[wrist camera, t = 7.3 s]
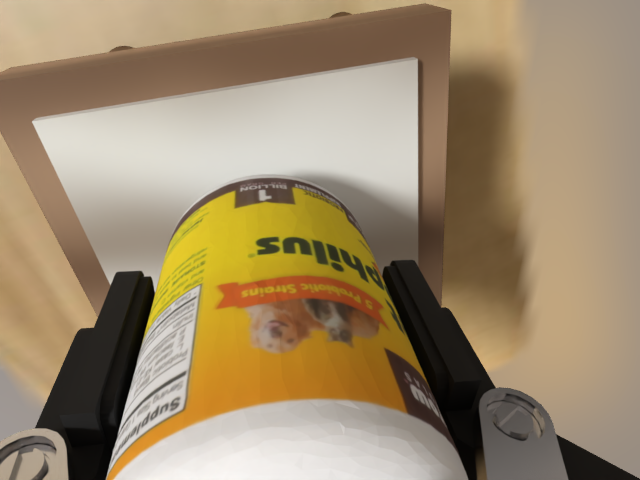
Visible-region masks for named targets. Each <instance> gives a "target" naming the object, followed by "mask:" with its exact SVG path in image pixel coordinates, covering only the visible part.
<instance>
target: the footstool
mask: <svg viewBox="0 0 640 480" xmlns="http://www.w3.org/2000/svg"><path fill="white" fill-rule="evenodd" d="M450 36H451V10H448V9H445V8H441V7H437V6H433V5H429V4H418V5H412V6H406V7H399V8H393V9H386V10H380V11H373V12H367V13H360V14H354V15H352V14H350V13H346V12H340V13H336V14H334V15H332V16H331V17H330V18H328V19H321V20H315V21H309V22H302V23H296V24H289V25H283V26H276V27H270V28H263V29H257V30H250V31H244V32H237V33H231V34H225V35H218V36H212V37H205V38H199V39H192V40H186V41H179V42H173V43H166V44H160V45H153V46H147V47H140V48H132V47H128V46H120V47H116V48H114V49H112V50H111V51H110V52H108V53H102V54H95V55H89V56H82V57H76V58H69V59H63V60H56V61H50V62H43V63H37V64H31V65H24V66H18V67H11V68H9V69H7V70H5V71H3V72H1V73H0V132H1V134H2V136H3V138H4V140H5V142H6V143H7V145H8V147H9V149H10V151H11V153H12V155H13V157H14V159H15V161H16V162H17V164H18V166H19V168H20V170H21V172H22V174H23V176H24V178H25V180H26V181H27V183H28V185H29V187H30V189H31V191H32V193H33V195H34V197H35V199H36V200H37V202H38V204H39V206H40V208H41V210H42V212H43V214H44V216H45V218H46V219H47V221H48V223H49V225H50V227H51V229H52V231H53V233H54V235H55V237H56V238H57V240H58V242H59V244H60V246H61V248H62V250H63V252H64V254H65V256H66V257H67V259H68V261H69V263H70V265H71V267H72V269H73V271H74V273H75V275H76V276H77V278H78V280H79V282H80V284H81V286H82V288H83V290H84V292H85V294H86V295H87V297H88V299H89V301H90V303H91V305H92V307H93V309H94V311H95V313H96V315H97V316H99V314H100V311H101V309H102V306H103V304H104V301H105V298H106V296H107V293H108V291H109V288H110V286H111V283H112V281H113V278H114V276H115V274H116V272H121V271H142V272H143V274H144V277H145V276H151V277H152V280H153V285H154V291H155V292H156V288H157V285H158V281H159V277H160V273H161V270H162V266H163V262H164V258H165V255H166V251H167V248H168V244H169V242H170V239H171V236H172V234H173V231H174V229H175V227H176V225H177V224H178V222H179V220H180V219H181V217H182V216H183V214H184V213H185V212H186V211H187V210H188V209H189V208H190V206H191V205H192V204H193V203H194V202H196V201H197V200H198V199H199V198H200V197H201V196H203V195H204V194H206V193H207V192H209V191H210V190H212V189H214V188H216V187H218V186H220V185H221V184H224V183H226V182H229V181H231V180H234V179H238V178H242V177H246V176H251V175H262V174H276V175H286V176H292V177H297V178H300V179H303V180H306V181H309V182H312V183H314V184H316V185H318V186H320V187H322V188H324V189H326V190H327V191H329V192H330V193H332V194H333V195H335V196H336V197H337V198H338V199H339V200H341V201H342V202H343V203H344V204H345V206H346V207H347V208H348V209H349V210H350V211H351V213H352V214H353V216H354V217H355V219H356V220H357V222H358V224H359V225H360V228H361V230H362V232H363V234H364V236H365V238H366V241H367V243H368V245H369V247H370V250H371V252H372V254H373V257H374V259H375V261H376V264H377V266H378V269H379V271H380V273H381V275H382V274H383V269H384V267H385V266H390V263H391V261H393V260H414V261H415V262H416V264H417V265H418V267H419V269H420V271H421V273H422V274H423V276H424V278H425V280H426V281H427V283H428V285H429V287H430V289H431V290H432V292H433V294H434V296H435V298H436V299H437V301H438V303H439V305H440V306H441V299H442V270H443V241H444V212H445V182H446V153H447V124H448V94H449V65H450Z"/></svg>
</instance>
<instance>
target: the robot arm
mask: <svg viewBox="0 0 640 480" xmlns="http://www.w3.org/2000/svg"><path fill="white" fill-rule="evenodd" d="M382 278H383V280H384V282H385V285H386V287H387V289H388V291H389V294H390V296H391V298H392V300H393V303H394V305H395V307H396V310H397V313H398V315H399V317H400V319H401V322H402V324H403V326H404V329H405V331H406V333H407V336H408V338H409V341H410V343H411V345H412V348H413V350H414V353H415V355H416V357H417V360H418V362H419V364H420V367H421V369H422V371H423V373H424V376H425V378H426V380H427V383H428V385H429V387H430V389H431V392H432V394H433V396H434V398H435V400H436V403H437V406H438V408H439V410H440V413H441V415H442V417H443V419H444V421H445V424H446V426H447V429H448V431H449V433H450V435H451V437H452V439H453V441H454V444H455V446H456V448H457V450H458V452H459V455H460V458H461V461H462V465H463V467H464V469H465V471H466V474H467V477H468V480H640V479H639V478H637V477H635V476H633V475H632V474H630V473H628V472H626V471H624V470H622V469H620V468H618V467H617V466H615V465H613V464H611V463H609V462H607V461H605V460H603V459H601V458H600V457H598V456H596V455H594V454H592V453H590V452H588V451H587V450H585V449H583V448H581V447H579V446H577V445H575V444H573V443H572V442H570V441H568V440H566V439H564V438H562V437H560V436H558V435H557V434H556V433H555V429H554V426H553V423H552V420H551V418H550V416H549V414H548V413H547V411H546V410H545V409H544V408H543V406H542V405H541V404H539V403H538V402H537V401H536V400H534V399H533V398H532V397H530V396H528V395H527V394H525V393H523V392H521V391H518V390H514V389H511V388H495V386H494V384H493V383H492V381H491V379H490V377H489V376H488V374H487V372H486V371H485V369H484V367H483V365H482V364H481V362H480V360H479V358H478V357H477V355H476V353H475V352H474V350H473V348H472V346H471V345H470V343H469V341H468V340H467V338H466V336H465V334H464V333H463V331H462V329H461V328H460V326H459V324H458V322H457V321H456V319H455V317H454V316H453V314H452V312H451V311H450V310H449V309H448V308H446V307H445V308H441V306H440V305H439V303H438V301H437V299H436V298H435V296H434V294H433V292H432V290H431V289H430V287H429V285H428V283H427V281H426V280H425V278H424V276H423V274H422V273H421V271H420V269H419V267H418V265H417V264H416V262H415V261H414V260H393V261H391V263H390V266H385V267H384V269H383V274H382ZM154 296H155V291H154V285H153V280H152V277H151V276H145V277H144V274H143V272H142V271H121V272H116V274H115V276H114V278H113V281H112V283H111V286H110V288H109V291H108V293H107V296H106V298H105V301H104V304H103V306H102V309H101V311H100V314H99V316H98V319H97V321H96V324H95V326H94V328H82V329H80V330H79V331H78V332H77V334H76V336H75V338H74V340H73V342H72V344H71V347H70V349H69V351H68V354H67V356H66V358H65V361H64V363H63V365H62V367H61V370H60V372H59V374H58V377H57V379H56V381H55V384H54V386H53V388H52V390H51V393H50V395H49V397H48V400H47V402H46V404H45V406H44V409H43V411H42V413H41V416H40V418H39V420H38V423H37V425H36V427H35V428H34V429H30V430H25V431H20V432H18V433H16V434H14V435H11V436H9V437H7V438H5V439H4V440H2V441H1V442H0V480H106V476H107V473H108V469H109V465H110V461H111V458H112V453H113V449H114V446H115V443H116V440H117V436H118V432H119V428H120V424H121V420H122V417H123V413H124V409H125V405H126V401H127V398H128V394H129V390H130V387H131V383H132V379H133V375H134V371H135V368H136V364H137V360H138V356H139V352H140V349H141V345H142V341H143V337H144V333H145V330H146V326H147V322H148V318H149V314H150V311H151V307H152V304H153V300H154Z"/></svg>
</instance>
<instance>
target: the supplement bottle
mask: <svg viewBox="0 0 640 480" xmlns="http://www.w3.org/2000/svg"><path fill="white" fill-rule="evenodd" d="M106 480H468V477H467V474H466V471H465V469H464V467H463V465H462V461H461V458H460V455H459V452H458V450H457V448H456V446H455V444H454V441H453V439H452V437H451V435H450V433H449V431H448V429H447V426H446V424H445V421H444V419H443V417H442V415H441V413H440V410H439V408H438V406H437V403H436V400H435V398H434V396H433V394H432V392H431V389H430V387H429V385H428V383H427V380H426V378H425V376H424V373H423V371H422V369H421V367H420V364H419V362H418V360H417V357H416V355H415V353H414V350H413V348H412V345H411V343H410V341H409V338H408V336H407V333H406V331H405V329H404V326H403V324H402V322H401V319H400V317H399V315H398V313H397V310H396V307H395V305H394V303H393V300H392V298H391V296H390V294H389V291H388V289H387V287H386V285H385V282H384V280H383V278H382V275H381V273H380V271H379V269H378V266H377V264H376V261H375V259H374V257H373V254H372V252H371V250H370V247H369V245H368V243H367V241H366V238H365V236H364V234H363V232H362V230H361V228H360V225H359V224H358V222H357V220H356V219H355V217H354V216H353V214H352V213H351V211H350V210H349V209H348V208H347V207H346V206H345V204H344V203H343V202H342V201H341V200H339V199H338V198H337V197H336V196H335V195H333V194H332V193H330V192H329V191H327V190H326V189H324V188H322V187H320V186H318V185H316V184H314V183H312V182H309V181H306V180H303V179H300V178H297V177H292V176H286V175H276V174H262V175H251V176H246V177H242V178H238V179H234V180H231V181H229V182H226V183H224V184H221V185H220V186H218V187H216V188H214V189H212V190H210V191H209V192H207V193H206V194H204V195H203V196H201V197H200V198H199V199H198V200H197V201H196V202H194V203H193V204H192V205H191V206H190V208H189V209H188V210H187V211H186V212H185V213H184V214H183V216H182V217H181V219H180V220H179V222H178V224H177V225H176V227H175V229H174V231H173V234H172V236H171V239H170V242H169V244H168V248H167V251H166V255H165V258H164V262H163V266H162V270H161V273H160V277H159V281H158V285H157V288H156V292H155V296H154V300H153V304H152V307H151V311H150V314H149V318H148V322H147V326H146V330H145V333H144V337H143V341H142V345H141V349H140V352H139V356H138V360H137V364H136V368H135V371H134V375H133V379H132V383H131V387H130V390H129V394H128V398H127V401H126V405H125V409H124V413H123V417H122V420H121V424H120V428H119V432H118V436H117V440H116V443H115V446H114V449H113V453H112V458H111V461H110V465H109V469H108V473H107V476H106Z"/></svg>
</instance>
